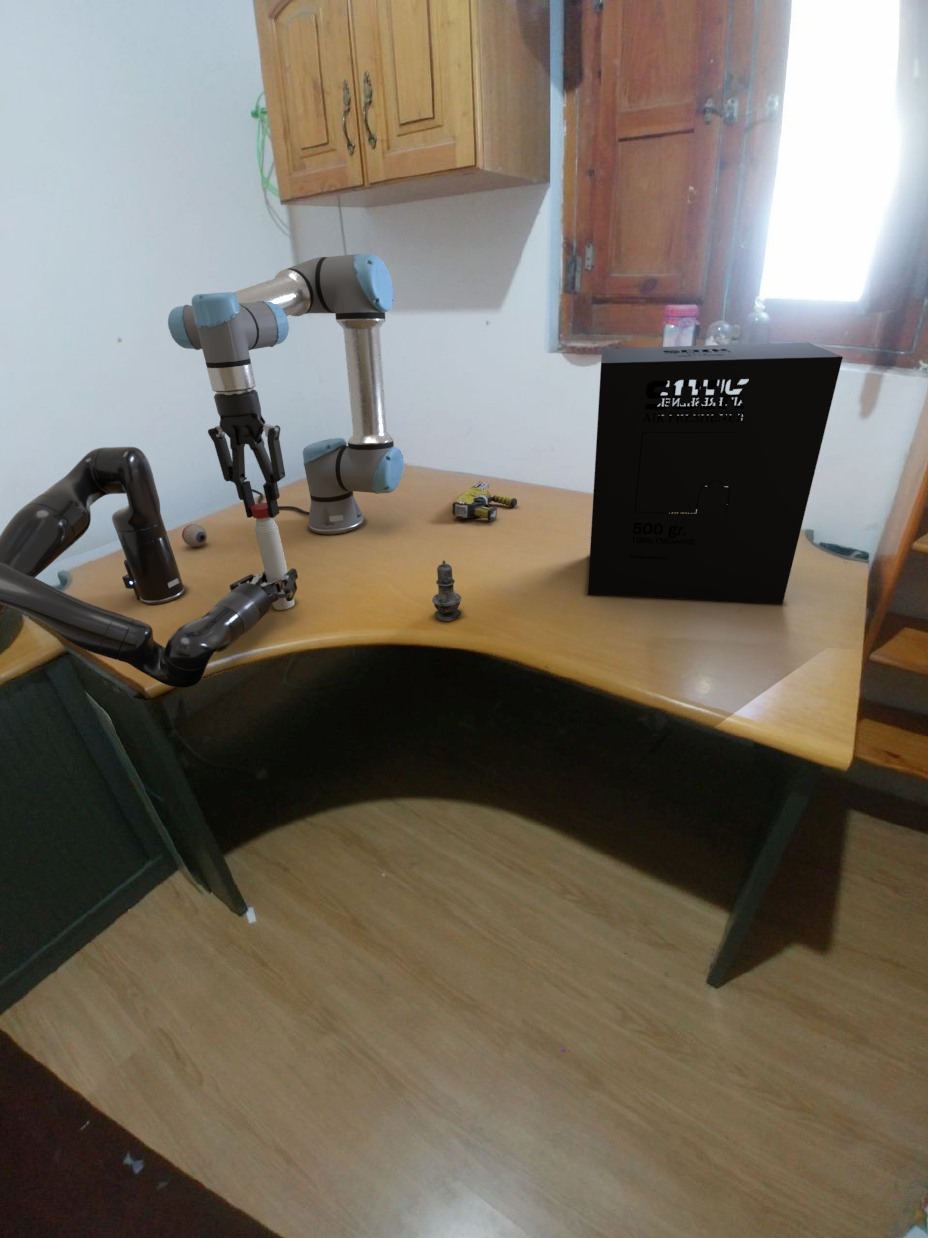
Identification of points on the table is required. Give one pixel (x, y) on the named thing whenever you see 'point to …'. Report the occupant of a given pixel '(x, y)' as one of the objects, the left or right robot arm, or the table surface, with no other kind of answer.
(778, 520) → the cardboard box
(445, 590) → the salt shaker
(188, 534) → the eyeball
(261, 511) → the cap
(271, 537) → the bottle
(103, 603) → the table surface
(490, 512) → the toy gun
